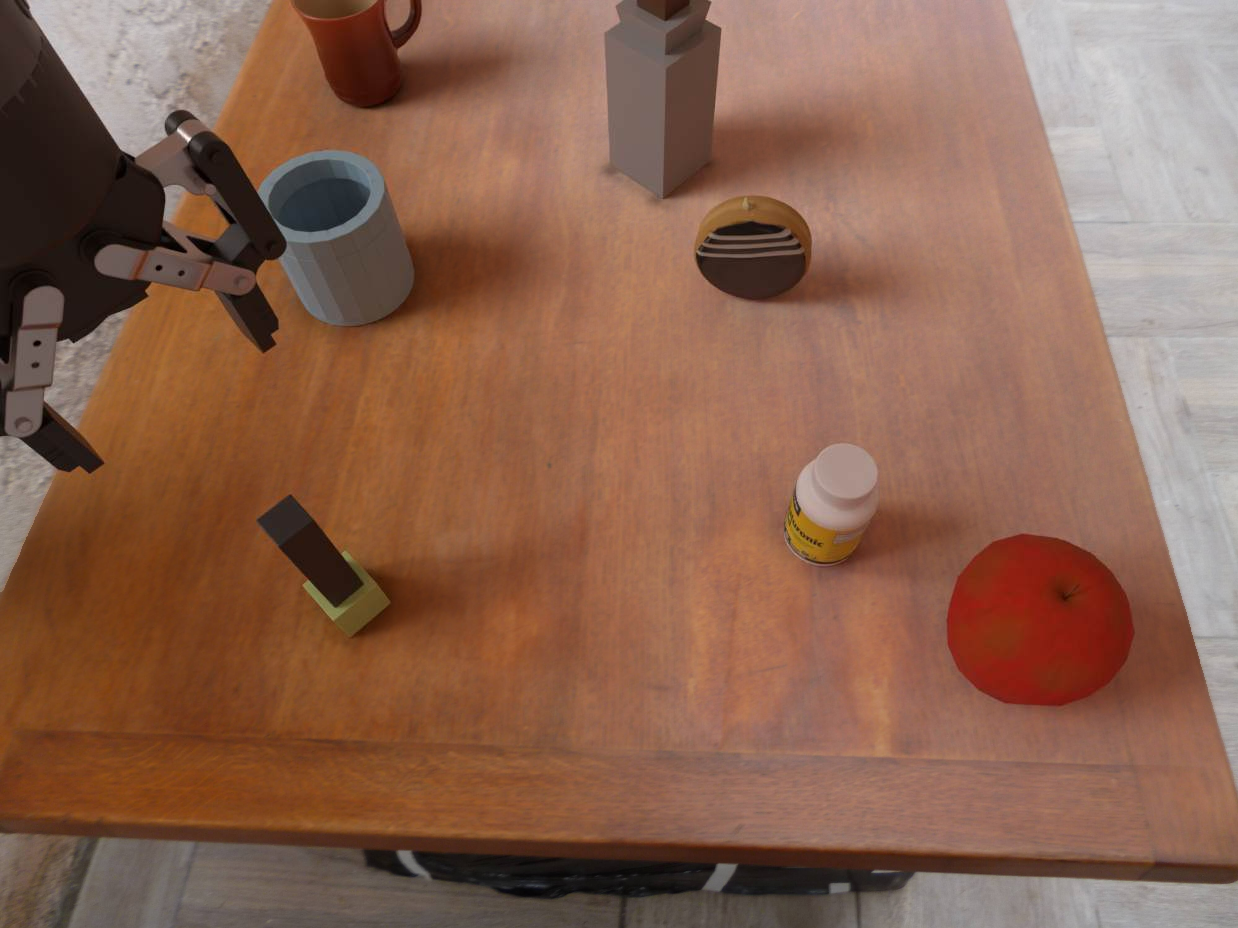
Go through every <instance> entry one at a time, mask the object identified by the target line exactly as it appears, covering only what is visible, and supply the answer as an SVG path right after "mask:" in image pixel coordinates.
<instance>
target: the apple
mask: <svg viewBox="0 0 1238 928" xmlns="http://www.w3.org/2000/svg"><path fill="white" fill-rule="evenodd" d="M1135 633H1136V631H1135V625H1134V620H1133V615H1132V610H1131V606H1130V601H1129V598H1128V595H1127V593H1126V591H1125V589H1124V588H1123V586H1122V585H1121V583H1120V582H1119V581H1118V579H1117V577H1116V576H1115V574H1114V572H1113V571H1112V570H1111V569H1110V568H1109V567H1108V566H1106V564H1104V563H1103V562H1102V561H1101V560H1100V559H1099V558H1097V556H1096V555H1094V554H1093V553H1092V552H1091V551H1089V550H1087V549H1085V548H1082V547H1081V546H1078V545H1077V544H1074V543H1072V542H1070V541H1068V540H1065V539H1061V538H1058V537H1054V536H1046V535H1037V534H1029V533H1019V534H1015V535H1012V536H1008V537H1005V538H1001V539H997V540H994V541H992V542H991V543H990V544H988V545H987V546H986V547H984V548H983V549H982V550H980V551H979V552H978V553H977V554H976V555H975V556H973V558H972V559H971V560H970V561H969V563H968V564H966V566H965V567H964V569H963V570H962V571H961V572H960V573H959V574H958V575H957V578H956V581H955V584H954V587H953V591H952V593H951V597H950V601H949V605H948V610H947V617H946V635H947V636H946V637H947V638H946V639H947V646H948V649H949V651H950V654H951V656H952V658H953V661H954V663H955V666H956V668H957V670H958V671H959V673H960V674H962V675H963V676H964V678H966V679H967V680H968V681H969V682H970V683H971V684H972V685H973V687H975V689H976V690H977V691H978V692H981V693H983V694H985V695H987V696H989V697H991V698H993V699H995V700H997V701H999V702H1001V703H1002V704H1005V705H1006V704H1009V705H1021V706H1022V705H1023V706H1042V707H1044V706H1045V707H1062V706H1066V705H1068V704H1071V703H1074V702H1077V701H1080V700H1082V699H1086V698H1088V697H1091V696H1093V694H1095V693H1097V692H1098V691H1100V690H1101V689H1103V688H1104V687H1105V686H1107V685H1108V684H1110V683H1111V682H1112V680H1113V679H1114V678H1115V677H1116V675H1117V674H1118V673H1119V671H1120V670H1121V668H1123V666H1124V665H1125V664H1126V662H1127V661H1128V659H1129V656H1130V652H1131V648H1132V644H1133V642H1134V638H1135Z"/></svg>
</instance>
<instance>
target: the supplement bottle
mask: <svg viewBox="0 0 1238 928" xmlns="http://www.w3.org/2000/svg"><path fill="white" fill-rule="evenodd" d="M879 474H880V473H879V467H878V464H877V462H876V460H875V458H874V457H873V455H872V454H870V453H869V452H868V451H867V450H865V449H864V448H863V447H861V446H859V445H856V444H852V443H849V442H847V443H846V442H842V443H840V442H839V443H834V444H830V445H829V446H827V447H824V449H822V450H821V452H819V454H818V455H817V457H816V458H815V459H814V460H812V461H810V462H809V463H808V464H806V466H804V467H803V469H802V470H801V472H800V473H799V476H798V477H797V480H796V483H795V486H794V489H793V492H792V495H791V498H790V501H789V504H788V507H787V510H786V513H785V516H784V517H785V518H784V520H783V528H782V529H783V537H784V540H785V543H786V545H787V547H788V548H789V550H790V551H791V553H793V555H795V556H796V557H797V558H798V559H799V560H801V561H803V562H805V563H807V564H809V565H813V566H816V567H830V566H837V565H838V564H840V563H842V562H844V561H846V560H847V559H848V558H849V557H850V556H851V555H852V554H853V553H854V552H855V550H856V549H857V547H858V545H859V543H860V541H861V539H862V538H863V536H864V534H865V532H866V530H867V528H868V526H869V524H870V523H871V521H872V519H873V517H874V515H875V513H876V511H877V509H878V507H879V503H880V487H879V483H878V481H879V477H880V475H879Z"/></svg>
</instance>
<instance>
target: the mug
mask: <svg viewBox="0 0 1238 928" xmlns="http://www.w3.org/2000/svg"><path fill="white" fill-rule="evenodd" d="M387 1H388V0H290V4H291V6H292V8H293V10H294V12H295V13H296V14H297V15H298V17H299V18H300V20H301V21H302V23H303V24H304V25H305V27H306V28H307V30H308V31H309V33H310V35H311V38H312V40H313V43H314V46H315V49H316V52H317V57H318V59H319V62H320V64H321V68H322V70H323V73H324V77H325V80H326V81H327V83H328V85H329V87H330V89H331V90H332V91H333V93H334V95H335V96H336V98H337V99H339V100H340V101H341V102H343V103H345V104H347V105H350V106H355V107H361V108H363V107H364V108H365V107H372V106H377V105H380V104H382V103H384V102H386V101H388V100H389V99H391V97H393V96H394V95H395V94H396V92H397V91H398V90H399V89H400V86H401V83H402V67H401V59H400V57H399V55H398V50H399V49H400V48H402V47H403V46H405V45H406V44H407V43H408V42H409V41H410V39H411V38H412V37H413V36H414V34H415V33H416V32H417V30H418V29H419V27H420V24H421V20H422V15H423V0H409V13H408V17H407V19H406V20H405V22H404V23H403V24H402V25H401V26H399V27H398V28H396V29H393V30H391V29H390V26H389V21H388V16H387Z"/></svg>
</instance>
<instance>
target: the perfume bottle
mask: <svg viewBox="0 0 1238 928" xmlns="http://www.w3.org/2000/svg"><path fill="white" fill-rule="evenodd" d="M712 3H713V2H712V1H711V0H622V1H620V2H618V3H617V4H616V5H614V7H615V9H616V13H617V16H618V19H619V22H618V23H617V24H615V25H614V26H612V27H611V28H609V29H607V30H606V31H605V32H604V33H603V34H604V35H603V36H604V58H605V82H606V105H607V126H608V127H607V128H608V146H609V149H608V150H609V165H610V166H611V167H613V168H614V169H615V170H617V171H619V172H620V173H622V174H624V175H625V176H627V177H628V178H630V179H631V180H633V181H634V182H636V183H638V184H639V185H641V186H642V187H644V188H645V189H647V190H648V191H650V192H651V193H653V194H654V195H656V196H658V197H659V198H660V199H664V198H666V197H667V196H669V195H670V194H671V193H672V192H673V191H675V190H676V189H677V188H678V187H680V186H682V184H684V183H685V182H686V181H687V180H688V179H690V178H691V177H693V176H694V175H695V174H696V173H697V172H699V171H700V170H701V169H703V168H704V167H705V166H706V165H708V163H710V162H711V158H712V147H713V137H714V135H713V134H714V124H715V113H716V112H715V110H716V100H717V87H718V75H719V63H720V54H721V53H720V52H721V51H720V50H721V40H722V27H720V26H719V25H717V24H715V23H713V22H711V21H709V20H707V17H708V14H709V11H710V8H711V5H712Z"/></svg>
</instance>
